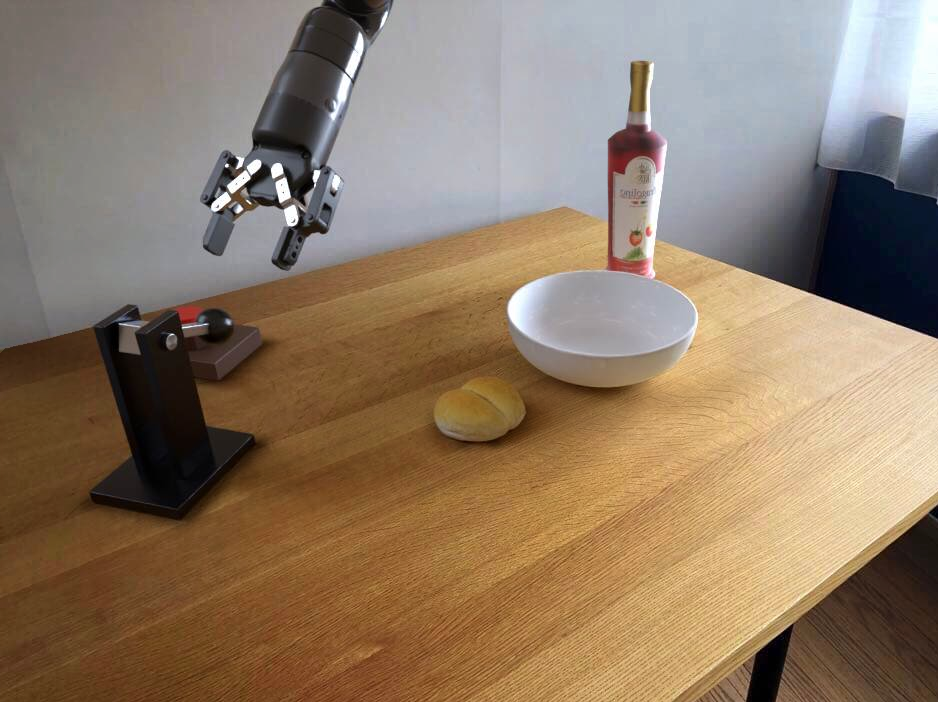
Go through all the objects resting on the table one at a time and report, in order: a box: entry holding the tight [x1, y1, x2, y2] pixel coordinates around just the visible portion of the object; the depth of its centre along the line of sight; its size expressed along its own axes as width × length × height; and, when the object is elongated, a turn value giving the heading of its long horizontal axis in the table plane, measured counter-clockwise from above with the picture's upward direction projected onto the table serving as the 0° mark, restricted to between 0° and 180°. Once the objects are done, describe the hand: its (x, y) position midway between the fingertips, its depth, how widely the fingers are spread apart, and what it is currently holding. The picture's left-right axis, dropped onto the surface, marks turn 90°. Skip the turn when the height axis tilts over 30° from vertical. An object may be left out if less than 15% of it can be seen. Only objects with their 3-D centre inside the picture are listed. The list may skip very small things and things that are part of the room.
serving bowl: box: [505, 269, 699, 388], centre depth 95 cm, size 21×21×7 cm
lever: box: [119, 306, 235, 355], centre depth 77 cm, size 13×4×4 cm, turn 164°
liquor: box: [604, 60, 668, 279], centre depth 109 cm, size 7×7×28 cm
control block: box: [185, 323, 263, 382], centre depth 98 cm, size 12×9×4 cm
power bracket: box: [88, 303, 257, 521], centre depth 75 cm, size 12×9×16 cm
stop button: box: [173, 305, 203, 325], centre depth 96 cm, size 4×4×2 cm
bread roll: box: [433, 376, 527, 442], centre depth 86 cm, size 8×9×4 cm
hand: (244, 259), depth 83 cm, fingers open, 8 cm apart
